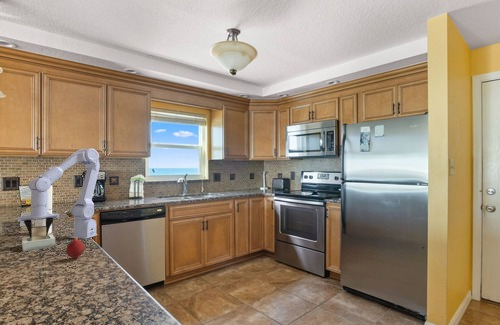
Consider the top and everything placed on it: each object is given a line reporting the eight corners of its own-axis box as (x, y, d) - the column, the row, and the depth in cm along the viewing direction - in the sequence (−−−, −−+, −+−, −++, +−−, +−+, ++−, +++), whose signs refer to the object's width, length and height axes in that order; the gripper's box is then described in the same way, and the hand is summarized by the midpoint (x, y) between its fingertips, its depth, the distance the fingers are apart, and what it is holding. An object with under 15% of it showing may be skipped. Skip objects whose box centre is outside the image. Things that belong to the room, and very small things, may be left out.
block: (45, 239, 126) (45, 225, 126) (46, 241, 122) (46, 227, 122) (30, 240, 123) (31, 227, 123) (31, 243, 119) (31, 228, 119)
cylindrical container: (55, 231, 150) (55, 185, 150) (44, 235, 143) (44, 186, 143) (42, 231, 151) (43, 185, 151) (31, 234, 143) (32, 186, 144)
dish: (52, 241, 130) (52, 234, 130) (55, 246, 122) (55, 238, 122) (21, 245, 123) (22, 237, 123) (22, 251, 114) (23, 242, 114)
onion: (75, 262, 101) (75, 239, 101) (62, 261, 102) (62, 239, 103) (87, 257, 107) (88, 236, 107) (75, 256, 108) (75, 235, 108)
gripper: (57, 203, 130) (57, 232, 130) (17, 205, 121) (17, 237, 121) (60, 204, 125) (59, 234, 125) (17, 207, 116) (17, 240, 115)
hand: (38, 236), depth 122 cm, fingers closed on block, 5 cm apart
